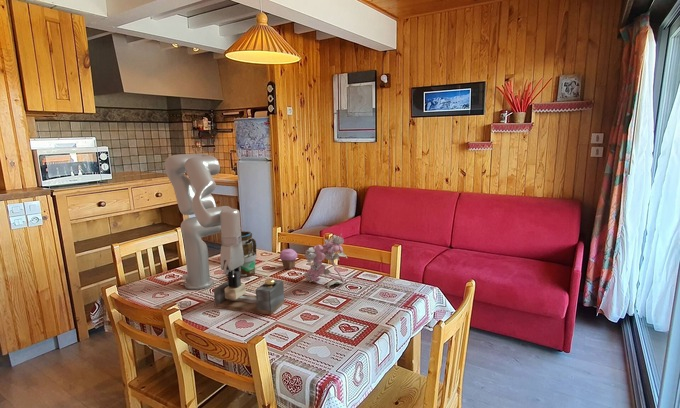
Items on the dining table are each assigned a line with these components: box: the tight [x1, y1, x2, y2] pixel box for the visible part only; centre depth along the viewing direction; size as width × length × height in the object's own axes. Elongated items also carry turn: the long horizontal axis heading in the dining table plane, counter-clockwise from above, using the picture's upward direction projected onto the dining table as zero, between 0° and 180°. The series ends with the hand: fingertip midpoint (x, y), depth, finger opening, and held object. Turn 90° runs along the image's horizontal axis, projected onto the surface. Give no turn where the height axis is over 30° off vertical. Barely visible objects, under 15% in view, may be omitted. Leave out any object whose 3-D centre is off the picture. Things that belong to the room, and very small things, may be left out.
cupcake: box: [279, 248, 298, 270], centre depth 196 cm, size 9×9×10 cm
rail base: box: [213, 279, 285, 316], centre depth 153 cm, size 25×11×10 cm, turn 72°
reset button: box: [264, 278, 275, 287], centre depth 149 cm, size 4×4×6 cm
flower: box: [302, 233, 348, 290], centre depth 174 cm, size 20×22×25 cm
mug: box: [241, 230, 257, 256], centre depth 208 cm, size 20×14×15 cm
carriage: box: [225, 271, 247, 300], centre depth 154 cm, size 5×7×10 cm
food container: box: [240, 252, 257, 279], centre depth 188 cm, size 12×6×10 cm, turn 168°
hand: (234, 284), depth 155 cm, fingers closed on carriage, 2 cm apart
